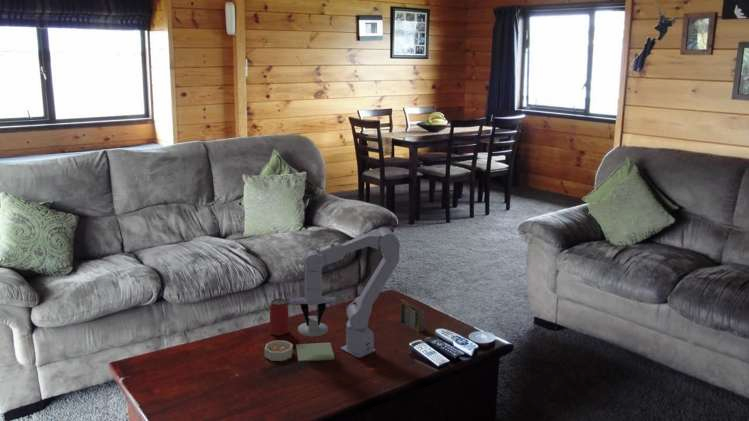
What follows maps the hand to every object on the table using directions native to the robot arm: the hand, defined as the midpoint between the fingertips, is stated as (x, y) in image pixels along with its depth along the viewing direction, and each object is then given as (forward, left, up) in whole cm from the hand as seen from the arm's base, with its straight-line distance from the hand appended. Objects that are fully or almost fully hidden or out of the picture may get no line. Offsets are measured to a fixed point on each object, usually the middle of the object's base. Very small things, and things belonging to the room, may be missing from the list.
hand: (312, 324), depth 228 cm
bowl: (+7, +9, -10) cm, 16 cm away
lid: (0, 0, -2) cm, 2 cm away
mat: (0, -1, -10) cm, 10 cm away
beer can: (+21, -2, -11) cm, 23 cm away
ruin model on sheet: (-8, -42, -11) cm, 44 cm away
